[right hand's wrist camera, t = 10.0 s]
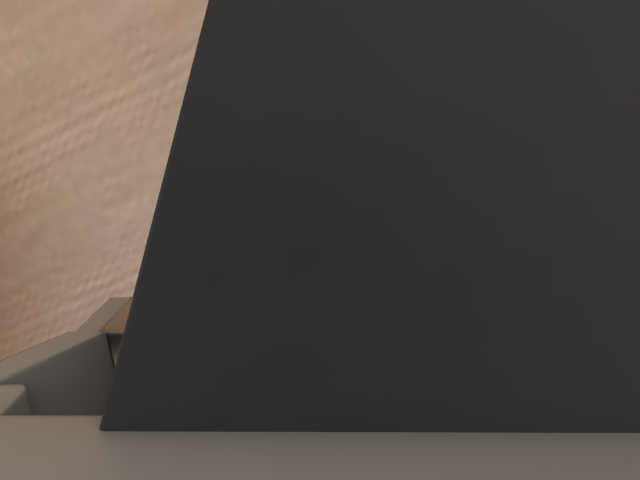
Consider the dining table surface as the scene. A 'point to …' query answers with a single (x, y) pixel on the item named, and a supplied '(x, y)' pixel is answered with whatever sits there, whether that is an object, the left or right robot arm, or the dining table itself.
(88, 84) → the dining table surface
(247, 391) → the box
